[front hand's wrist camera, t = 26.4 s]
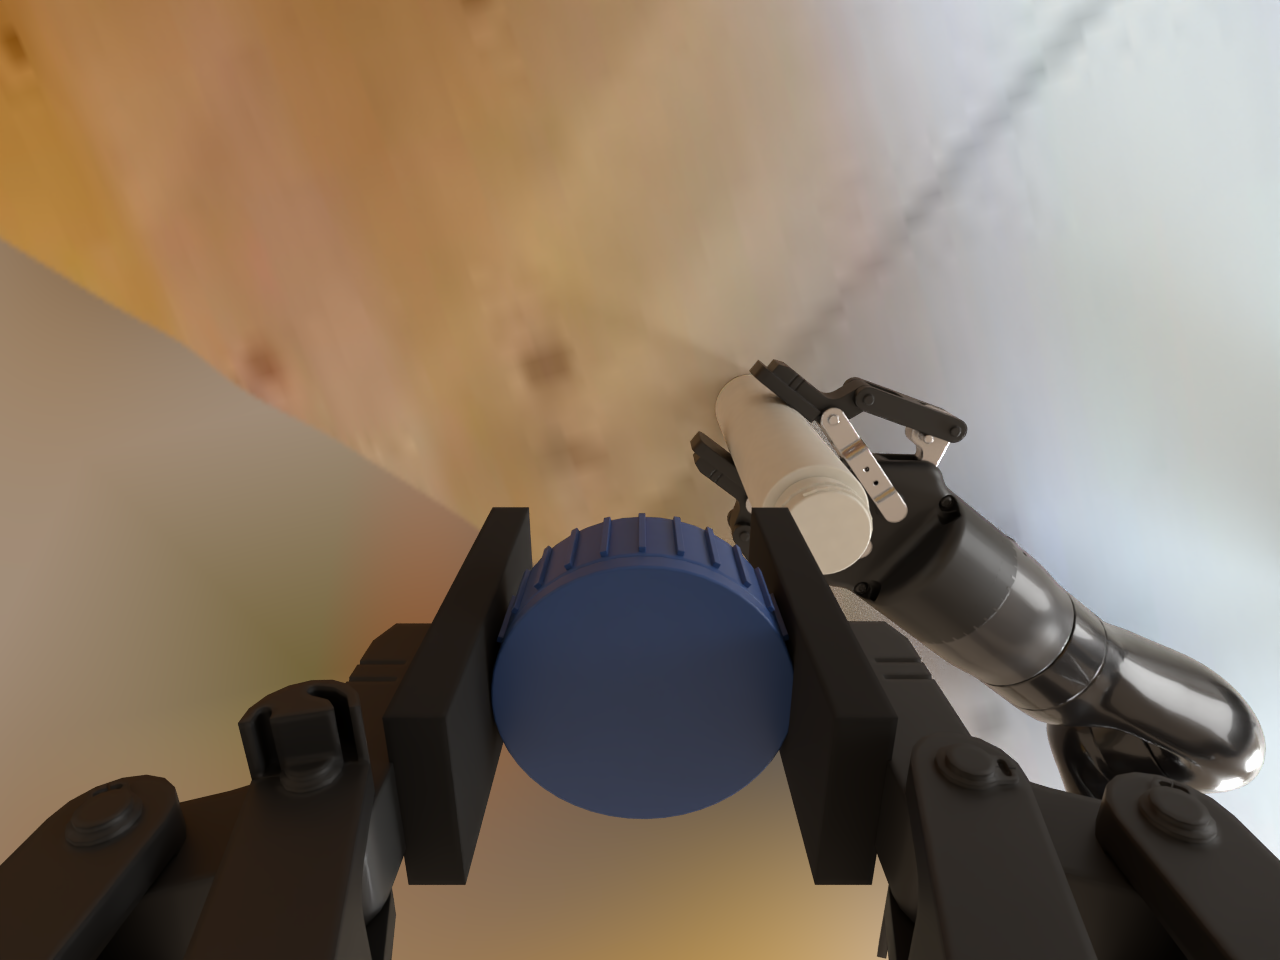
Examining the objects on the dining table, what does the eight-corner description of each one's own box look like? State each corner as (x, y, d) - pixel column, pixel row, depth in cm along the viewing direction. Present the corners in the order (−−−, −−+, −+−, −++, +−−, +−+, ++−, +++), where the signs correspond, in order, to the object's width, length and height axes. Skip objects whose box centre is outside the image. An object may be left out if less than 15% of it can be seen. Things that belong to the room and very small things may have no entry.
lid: (514, 496, 11) (490, 545, 10) (802, 526, 12) (831, 580, 10) (501, 731, 13) (479, 809, 11) (754, 754, 13) (771, 834, 11)
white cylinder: (792, 424, 41) (898, 561, 24) (729, 450, 42) (790, 601, 25) (769, 362, 40) (864, 462, 23) (704, 390, 41) (751, 507, 24)
